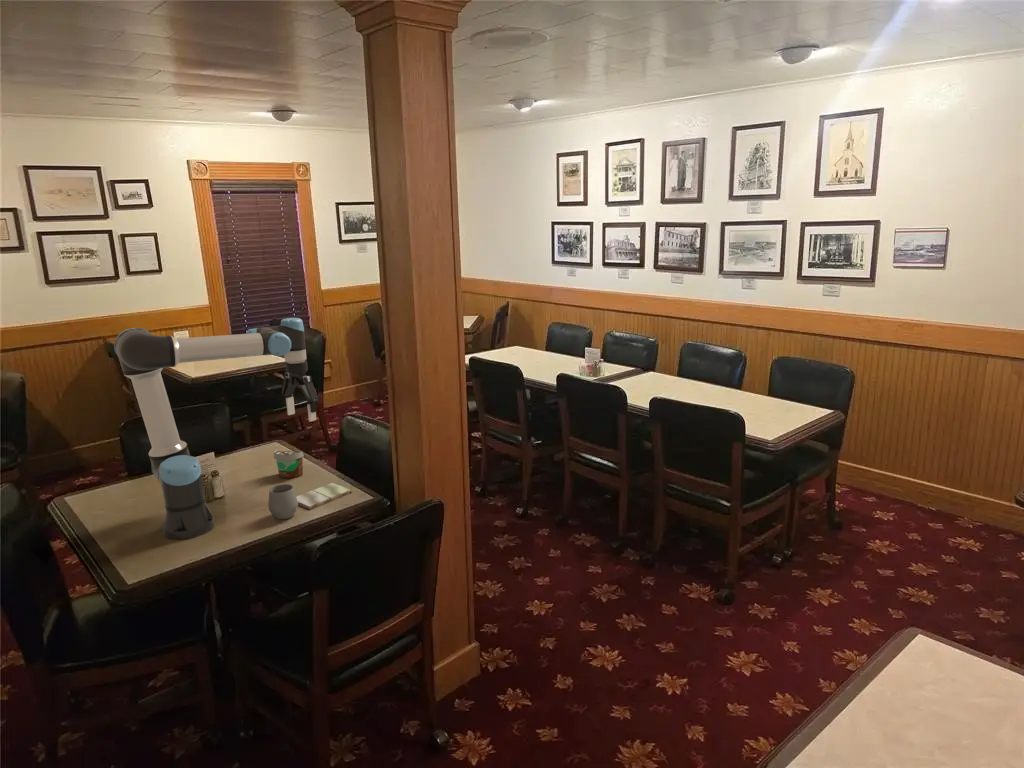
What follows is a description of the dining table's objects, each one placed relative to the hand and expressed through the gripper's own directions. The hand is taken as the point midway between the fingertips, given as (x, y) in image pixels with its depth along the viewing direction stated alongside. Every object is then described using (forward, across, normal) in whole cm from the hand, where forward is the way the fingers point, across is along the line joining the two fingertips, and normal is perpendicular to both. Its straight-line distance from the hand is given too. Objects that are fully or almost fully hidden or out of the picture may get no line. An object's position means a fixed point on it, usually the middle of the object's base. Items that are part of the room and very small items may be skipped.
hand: (301, 417), depth 245 cm
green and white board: (+26, -15, +5) cm, 30 cm away
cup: (+26, -18, +22) cm, 39 cm away
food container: (+26, +12, +1) cm, 29 cm away
